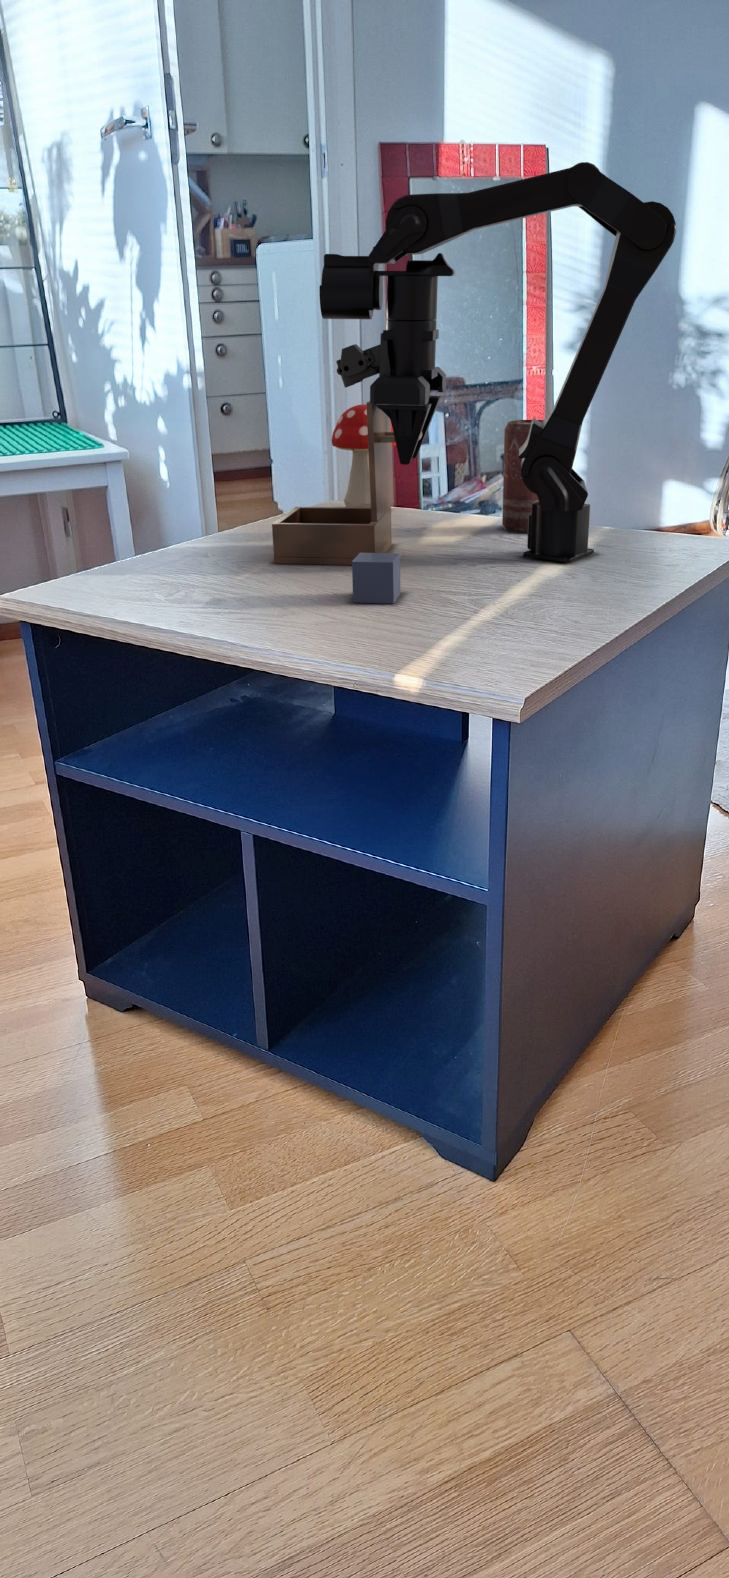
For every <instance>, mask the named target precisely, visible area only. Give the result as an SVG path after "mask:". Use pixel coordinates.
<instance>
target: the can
mask: <svg viewBox="0 0 729 1578" xmlns="http://www.w3.org/2000/svg"><path fill="white" fill-rule="evenodd" d="M537 420H538V421H539V422H541V423H542V424H543V422H544V421H545V419H537ZM531 422H532V419H516V420H510V421H507V423H506V426H505V428H504V439H503V442H504V443H503V475H502V477H503V479H502V482H503V483H502V523H501V524H502V526H503V527H502V528H503V529H504V530H505V531H506V532H509V533H515V534H516V533H517V534H528V517H529V515H531V514H532V504H533V503H536V502H539V500H538V497H537V494H535V493H533V492H531V491H530V490H529V489H528V488H527V487H526V486H525V485H524V482H523V480H522V477H521V461H522V459H520V458H519V449H520V447H521V446H522V445H523V444H524V443H525V441H526V440H527V438H528V435H529V431H530V426H531Z"/></svg>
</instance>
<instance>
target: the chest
mask: <svg viewBox="0 0 729 1578" xmlns="http://www.w3.org/2000/svg"><path fill="white" fill-rule="evenodd" d="M271 532H272V533H271V534H272V547H273V548H272V549H273V563H274V565H275V564H277V565H278V564H279V565H281V564H282V565H327V566H328V565H329V566H335V565H336V566H352V561H353V560H354V559H355V558H356V557H357V556H358V555H359V554H360V553H387V552H388V550H389V549H391V547H392V545H393V541H392V540H393V537H392V535H393V533H392V507H391V508H390V509H389V510H388V511H387V512H386V513H385V514H384V515H383V516H382V517H381V518H380V519H379V520H378V521H377V522H372V521H371V507H346V506H295V507H293V508H292V509H291V510H289V511H288V512H286V513H285V514H283V515H282V516H281V517H280V518H278V519H277V520H276V521H274V522H273V523H272V524H271Z"/></svg>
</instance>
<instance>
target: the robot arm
mask: <svg viewBox="0 0 729 1578" xmlns="http://www.w3.org/2000/svg"><path fill="white" fill-rule="evenodd" d="M573 207H576V208H579V209H580V210H582V211H583V212H584V213H585V214H587V215H588V216H589V217H590V218H592V219H593V220H594V221H595V222H596V223H598V224H599V225H600V226H601V227H603V228H604V229H605V230H606V231H608V232H609V233H610V234H612V235H613V236H614V242H613V246H612V249H611V254H610V257H609V258H610V259H609V263H608V266H607V267H608V268H607V272H606V277H605V282H604V285H603V289H602V291H601V294H600V296H599V299H598V301H597V303H596V306H595V308H594V310H593V313H592V315H591V317H590V320H589V323H588V324H587V327H586V330H585V332H584V334H583V336H582V339H581V341H580V344H579V346H578V349H577V351H576V353H575V356H574V358H573V361H572V362H571V365H570V368H569V370H568V372H567V375H566V377H565V380H564V382H563V383H562V386H561V388H560V390H559V391H560V392H559V394H558V396H557V399H556V401H555V403H554V405H553V407H552V408H551V410H550V412H549V413H548V415H547V416H546V418H544V420H545V421H544V422H543V424H542V423H541V422H539V421H538V420H539V419H536V418H535V417H533V418H532V419H531V420H532V422H531V426H530V431H529V435H528V438H527V440H526V441H525V443H524V444H523V445H522V446H521V447H520V449H519V458H520V459H522V461H521V477H522V480H523V482H524V485H525V486H526V487H527V488H528V489H529V490H530V491H531V492H533V493H535V494H537V497H538V500H539V502H536V503H533V504H532V514H531V515H529V517H528V533H527V541H526V542H527V545H526V546H527V549H528V550H526V551H523V552H522V556H523V557H525V558H532V559H539V560H545V561H546V560H547V561H552V562H560V563H572V562H574V561H577V560H580V559H582V558H585V557H588V556H590V555H593V554H594V553H595V549H594V548H589V533H590V532H589V531H590V515H591V504H590V503H586V501H587V498H588V496H589V493H588V489H587V485H586V482H585V480H584V479H583V478H582V477H581V476H580V475H579V474H578V473H577V472H576V471H575V469H573V466H574V462H575V458H576V454H577V450H578V445H579V440H580V436H581V432H582V427H583V423H584V420H585V417H586V415H587V413H588V410H589V408H590V406H591V404H592V401H593V399H594V396H595V395H596V393H597V390H598V387H599V385H600V383H601V381H602V378H603V376H604V374H605V372H606V369H607V366H608V365H609V362H610V360H611V358H612V355H613V353H614V350H615V348H616V346H617V345H618V342H619V339H620V337H621V335H622V332H623V331H624V328H625V325H626V324H627V320H628V319H629V316H630V314H631V311H632V309H633V307H634V304H635V303H636V301H637V299H638V297H639V296H640V294H641V293H642V291H643V290H644V288H645V287H646V286H647V284H648V283H649V281H650V280H651V278H652V276H653V275H654V274H655V273H656V271H657V269H658V268H659V266H660V265H661V263H662V262H663V260H664V258H665V257H666V255H667V254H668V252H669V250H670V249H671V247H672V246H673V244H674V242H675V237H676V235H677V223H676V220H675V216H674V214H673V212H671V210H670V208H669V207H668V206H666V205H664V204H663V203H661V202H658V201H653V200H651V201H644V202H643V201H642V200H641V199H639V198H638V197H637V196H636V195H634V194H633V193H631V191H629V190H627V189H626V188H624V187H623V186H621V185H620V184H619V183H617V182H615V181H614V180H613V179H611V178H610V177H608V176H607V175H606V174H604V173H603V172H601V170H600V169H599V168H598V166H596V164H594V163H591V162H588V161H582V162H578V163H576V164H574V165H572V166H571V167H567V168H563V169H559V170H555V171H551V172H547V173H542V174H539V175H535V176H531V177H527V178H523V179H518V180H515V181H511V182H505V183H501V184H499V185H494V186H490V187H486V188H482V189H477V190H474V191H470V192H453V193H452V192H447V193H445V192H443V193H442V192H437V193H435V192H434V193H416V194H415V193H413V194H405V195H403V196H401V197H399V198H397V199H396V200H395V201H394V202H393V203H392V204H391V206H390V208H389V209H388V212H387V213H386V218H385V231H384V232H383V233H382V235H381V236H380V238H379V240H378V241H377V242H376V244H375V245H374V246H372V250H371V252H369V254H368V255H341V254H337V253H325V254H324V255H323V267H322V273H321V280H320V281H321V283H320V284H319V287H318V288H319V306H320V307H319V308H320V314H321V317H322V320H372V319H373V316H374V311H381V310H382V308H383V301H384V277H386V329H383V330H382V332H380V337H379V338H380V343H379V344H377V345H375V346H372V347H369V348H366V349H364V350H363V349H362V348H361V347H360V346H359V345H358V344H357V343H355V344H351V345H349V346H346V347H343V348H341V353H340V358H339V359H337V360H336V366H337V368H336V373H337V375H339V376H340V377H341V381H342V383H343V387H344V388H348V387H351V386H354V385H356V384H359V383H361V382H363V381H364V380H365V379H367V378H371V377H373V376H376V375H378V377H377V378H376V379H375V380H374V381H373V382H372V383H371V384H370V385H369V401H370V403H371V404H376V405H377V407H378V408H379V409H381V410H382V411H383V412H384V413H385V414H386V415H387V416H388V417H389V418H390V420H391V424H392V428H393V432H394V437H395V442H396V445H395V446H396V450H397V455H398V456H397V457H398V460H399V464H400V465H402V466H403V465H404V466H406V465H407V466H408V465H410V464H411V461H412V460H413V459H417V457H418V455H419V452H420V450H421V447H422V445H423V442H424V440H425V437H426V435H427V433H428V430H429V428H430V426H431V423H432V421H433V418H434V416H435V413H436V411H437V408H438V406H439V403H440V401H441V399H442V396H441V395H430V393H431V391H437V392H438V393H444V392H446V391H447V390H446V389H447V374H446V373H445V371H444V370H443V369H442V368H441V367H440V366H436V353H437V352H436V351H437V349H436V348H437V340H438V339H439V338H440V337H439V335H440V330H439V328H438V329H437V320H438V319H437V316H438V315H437V314H438V287H439V286H438V283H439V277H454V276H455V274H456V270H455V269H454V268H453V267H452V266H451V264H449V263H448V262H447V260H446V258H445V255H444V254H443V253H441V252H438V253H437V254H436V256H435V257H434V258H433V260H432V259H431V260H430V259H428V260H427V259H424V260H423V259H422V260H421V259H414V260H413V259H408V260H407V262H406V265H405V270H379V265H394V264H396V263H398V262H399V261H400V260H401V259H403V258H404V257H405V256H407V255H408V254H409V255H413V256H414V255H423V254H424V253H427V252H429V251H432V250H434V249H436V248H438V247H442V246H443V245H445V244H448V243H450V242H452V241H454V240H456V239H458V238H461V237H462V236H464V235H466V234H469V233H471V232H474V231H475V230H479V229H484V228H488V227H492V226H496V225H501V224H505V223H510V222H514V221H518V220H521V219H526V218H531V217H534V216H539V215H543V214H547V213H552V212H556V211H559V210H560V211H561V210H564V209H569V208H573ZM439 340H440V339H439ZM421 432H422V438H421V439H420V440H419V437H420V434H421ZM418 440H419V441H418Z"/></svg>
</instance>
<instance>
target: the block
mask: <svg viewBox="0 0 729 1578" xmlns="http://www.w3.org/2000/svg"><path fill="white" fill-rule="evenodd" d="M351 573H352V574H351V577H352V578H351V579H352V602H353V604H385V605H386V604H389V605H394V604H395V603H396V601H397V599H398V598H399V597H400V595H401V590H402V589H401V553H400V552H386V553H360V554H359V555H358V556H357V557H356V558H355V559H354V560H353V561H352V565H351Z"/></svg>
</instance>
